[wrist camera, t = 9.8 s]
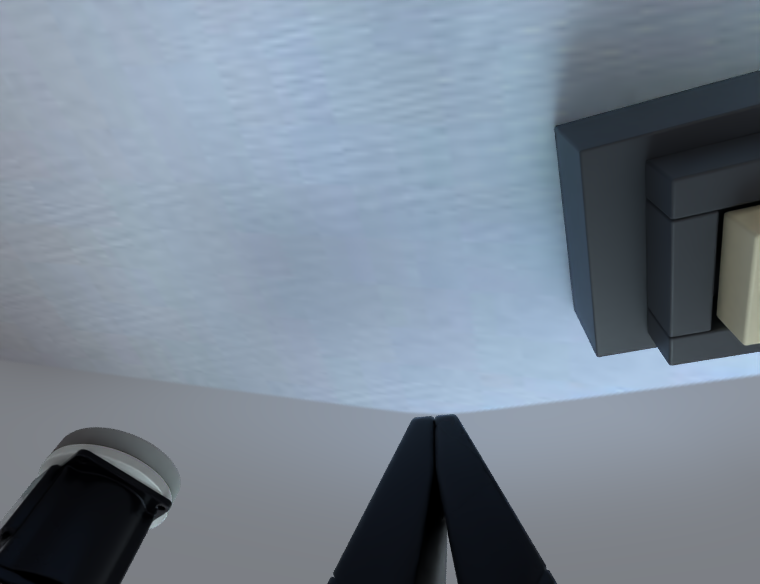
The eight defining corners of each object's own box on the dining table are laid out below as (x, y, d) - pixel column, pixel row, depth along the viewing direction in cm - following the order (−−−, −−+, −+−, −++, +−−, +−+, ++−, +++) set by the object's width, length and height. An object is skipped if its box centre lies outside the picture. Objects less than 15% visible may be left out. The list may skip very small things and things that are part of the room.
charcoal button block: (895, 32, 14) (1095, 46, 10) (843, 258, 18) (972, 338, 14) (553, 125, 16) (598, 170, 12) (573, 310, 20) (613, 392, 16)
